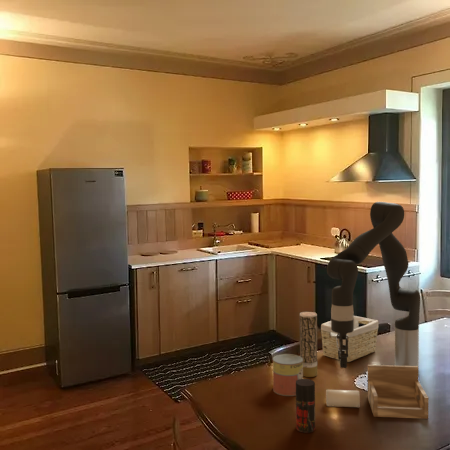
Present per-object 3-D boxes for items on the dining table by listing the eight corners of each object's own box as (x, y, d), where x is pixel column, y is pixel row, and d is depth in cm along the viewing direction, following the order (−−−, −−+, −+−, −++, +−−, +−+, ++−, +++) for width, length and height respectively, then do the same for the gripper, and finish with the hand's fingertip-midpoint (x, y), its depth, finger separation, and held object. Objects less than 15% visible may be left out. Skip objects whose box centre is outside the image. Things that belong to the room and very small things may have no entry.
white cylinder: (326, 401, 182) (325, 386, 182) (358, 402, 181) (358, 387, 180) (326, 409, 177) (326, 393, 176) (360, 410, 175) (360, 394, 175)
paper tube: (317, 378, 204) (316, 316, 202) (299, 377, 205) (299, 315, 203) (317, 372, 211) (317, 312, 209) (300, 371, 212) (300, 311, 210)
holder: (367, 397, 185) (367, 364, 184) (417, 398, 183) (417, 366, 182) (373, 416, 170) (373, 381, 169) (428, 418, 168) (428, 382, 167)
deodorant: (294, 424, 166) (293, 379, 164) (312, 423, 166) (312, 378, 165) (298, 433, 160) (298, 386, 159) (317, 432, 160) (316, 385, 159)
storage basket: (350, 344, 246) (350, 313, 245) (380, 351, 234) (380, 320, 233) (319, 356, 230) (318, 323, 229) (350, 365, 218) (349, 331, 217)
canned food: (299, 397, 186) (299, 365, 185) (269, 394, 190) (269, 362, 189) (306, 386, 197) (305, 355, 196) (277, 382, 201) (276, 352, 200)
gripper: (355, 322, 169) (355, 371, 170) (351, 312, 183) (351, 356, 184) (332, 322, 170) (332, 370, 171) (329, 311, 184) (330, 356, 185)
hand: (342, 363), depth 178 cm, fingers open, 8 cm apart
